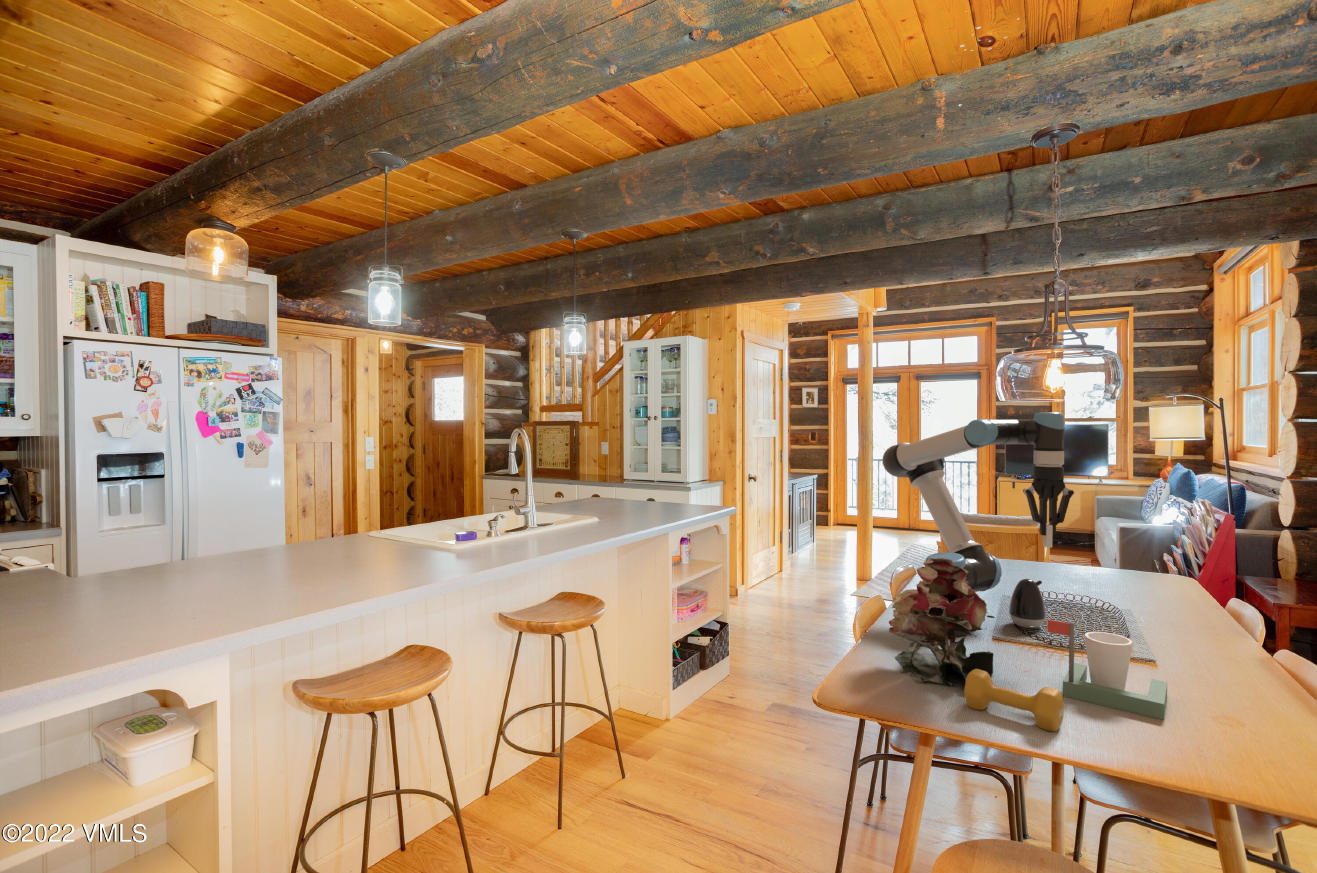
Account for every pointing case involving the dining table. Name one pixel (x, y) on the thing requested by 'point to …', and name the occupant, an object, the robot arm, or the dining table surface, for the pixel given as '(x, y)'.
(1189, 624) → the dining table surface
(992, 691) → the dumbbell
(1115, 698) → the putting pocket
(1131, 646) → the foam cup
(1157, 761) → the dining table surface
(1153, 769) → the dining table surface
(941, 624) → the rose bouquet
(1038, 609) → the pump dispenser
